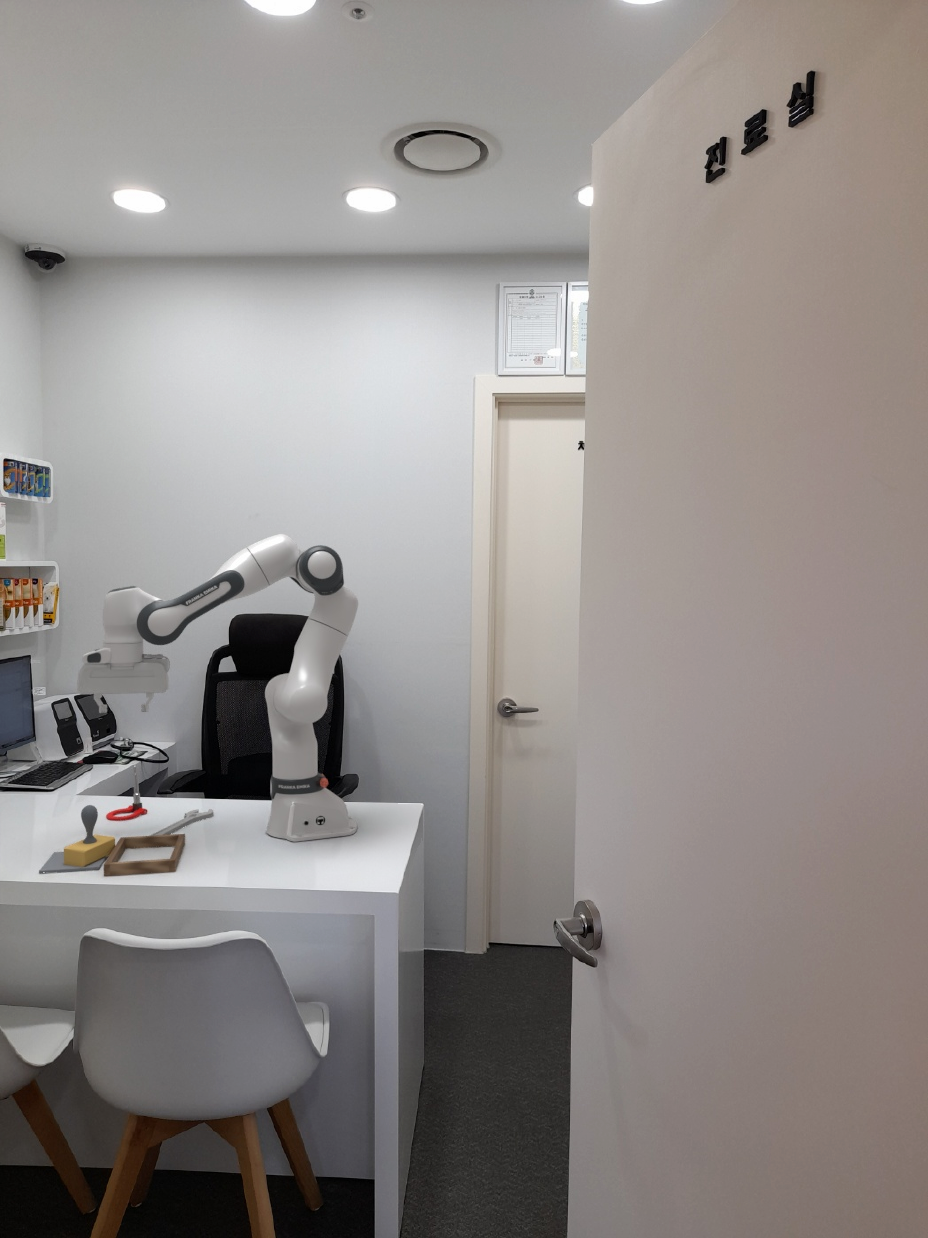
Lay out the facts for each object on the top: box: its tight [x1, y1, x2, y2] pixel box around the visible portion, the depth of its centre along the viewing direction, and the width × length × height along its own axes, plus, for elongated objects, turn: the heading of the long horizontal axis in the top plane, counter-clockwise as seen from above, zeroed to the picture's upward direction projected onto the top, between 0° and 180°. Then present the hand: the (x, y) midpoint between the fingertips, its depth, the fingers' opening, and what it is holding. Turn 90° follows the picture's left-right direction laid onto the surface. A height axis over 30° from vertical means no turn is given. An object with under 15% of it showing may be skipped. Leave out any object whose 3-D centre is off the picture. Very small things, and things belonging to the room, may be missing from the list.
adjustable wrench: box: [148, 808, 214, 836], centre depth 209 cm, size 25×6×2 cm, turn 161°
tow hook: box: [105, 765, 148, 822], centre depth 217 cm, size 8×13×9 cm
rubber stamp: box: [63, 804, 116, 867], centre depth 183 cm, size 10×6×12 cm, turn 163°
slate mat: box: [38, 851, 108, 874], centre depth 183 cm, size 12×12×1 cm
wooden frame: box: [103, 833, 186, 877], centre depth 185 cm, size 14×18×2 cm
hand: (124, 712), depth 197 cm, fingers open, 8 cm apart
